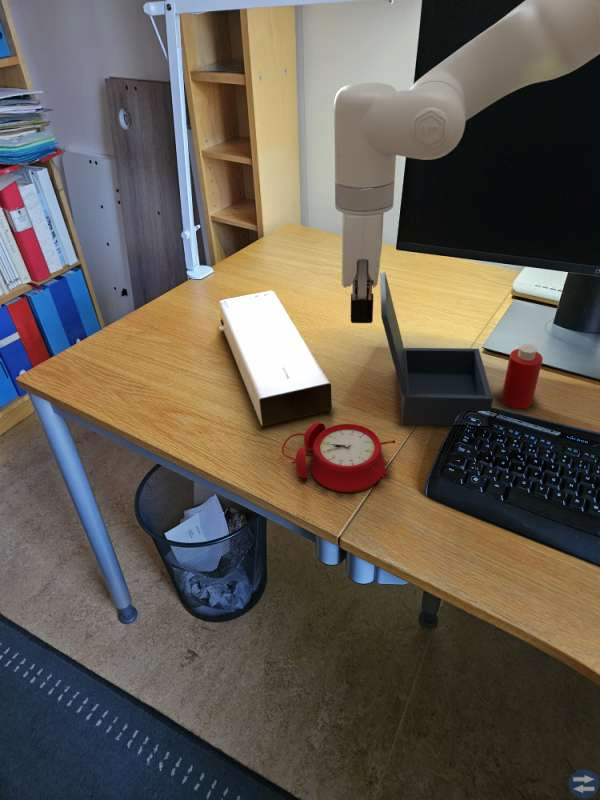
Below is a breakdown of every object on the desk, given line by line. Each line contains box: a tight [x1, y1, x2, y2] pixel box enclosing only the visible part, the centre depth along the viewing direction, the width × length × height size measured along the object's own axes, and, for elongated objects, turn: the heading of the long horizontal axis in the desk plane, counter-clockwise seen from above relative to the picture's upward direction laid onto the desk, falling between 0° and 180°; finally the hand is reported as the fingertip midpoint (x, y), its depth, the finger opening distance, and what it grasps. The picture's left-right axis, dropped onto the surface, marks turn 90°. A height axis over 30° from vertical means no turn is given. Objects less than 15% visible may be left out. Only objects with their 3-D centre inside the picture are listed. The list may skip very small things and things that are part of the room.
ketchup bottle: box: [500, 343, 543, 410], centre depth 86 cm, size 5×5×10 cm
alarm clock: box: [281, 421, 396, 493], centre depth 78 cm, size 10×6×15 cm
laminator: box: [218, 289, 333, 428], centre depth 98 cm, size 34×12×6 cm, turn 17°
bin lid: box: [379, 272, 407, 395], centre depth 83 cm, size 13×14×1 cm
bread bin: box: [399, 347, 494, 427], centre depth 88 cm, size 13×14×5 cm
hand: (361, 320), depth 83 cm, fingers closed
